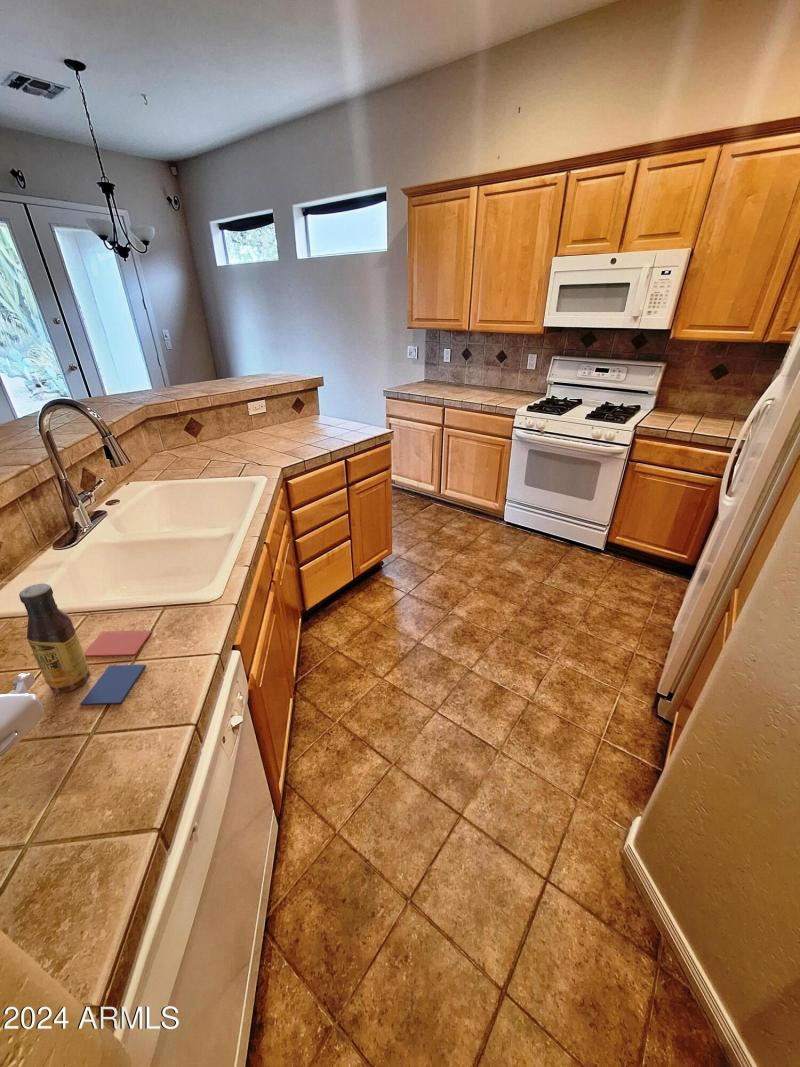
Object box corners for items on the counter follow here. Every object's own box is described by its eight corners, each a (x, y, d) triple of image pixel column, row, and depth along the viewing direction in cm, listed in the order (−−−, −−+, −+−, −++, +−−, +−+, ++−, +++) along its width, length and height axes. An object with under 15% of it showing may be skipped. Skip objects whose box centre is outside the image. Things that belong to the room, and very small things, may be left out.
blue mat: (80, 705, 72) (80, 703, 72) (109, 667, 80) (109, 665, 80) (121, 704, 73) (120, 702, 72) (146, 665, 81) (145, 664, 80)
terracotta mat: (81, 657, 82) (81, 655, 82) (102, 632, 89) (102, 631, 89) (135, 655, 83) (135, 654, 83) (152, 631, 89) (152, 630, 89)
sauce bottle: (41, 689, 75) (-4, 595, 66) (76, 665, 80) (38, 575, 72) (67, 699, 73) (24, 604, 64) (101, 674, 78) (66, 583, 70)
